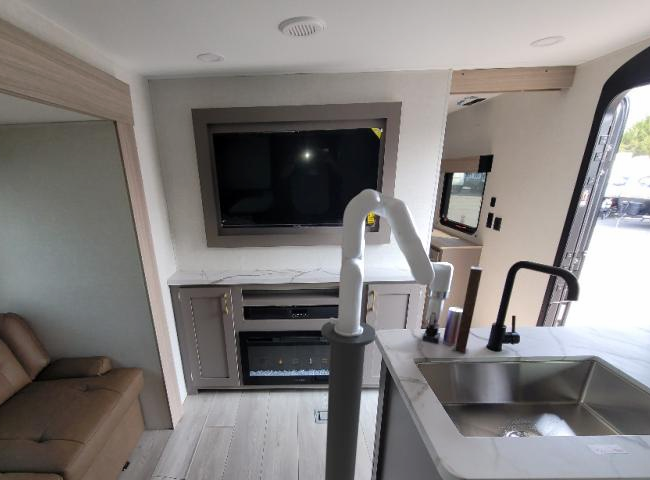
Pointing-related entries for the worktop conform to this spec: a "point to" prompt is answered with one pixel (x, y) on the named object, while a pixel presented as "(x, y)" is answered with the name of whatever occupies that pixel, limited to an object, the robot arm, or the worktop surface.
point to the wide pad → (431, 338)
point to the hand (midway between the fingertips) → (431, 333)
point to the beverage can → (452, 325)
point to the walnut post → (468, 308)
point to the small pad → (436, 328)
